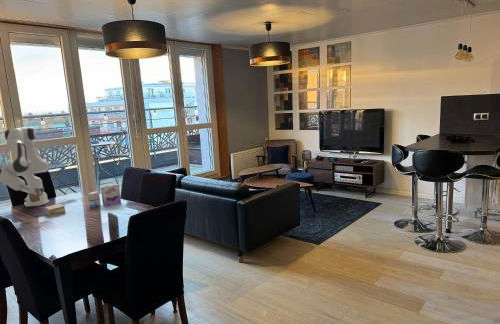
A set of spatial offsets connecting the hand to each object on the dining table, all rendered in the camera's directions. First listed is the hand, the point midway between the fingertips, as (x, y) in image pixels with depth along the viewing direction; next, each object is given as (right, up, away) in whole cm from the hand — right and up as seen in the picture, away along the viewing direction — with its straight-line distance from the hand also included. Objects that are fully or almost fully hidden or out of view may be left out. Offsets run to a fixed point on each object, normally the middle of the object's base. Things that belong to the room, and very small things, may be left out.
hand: (34, 194), depth 262 cm
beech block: (+12, -16, +7) cm, 22 cm away
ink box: (+37, -12, +22) cm, 44 cm away
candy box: (+50, -11, +24) cm, 57 cm away
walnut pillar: (0, -5, 0) cm, 5 cm away
